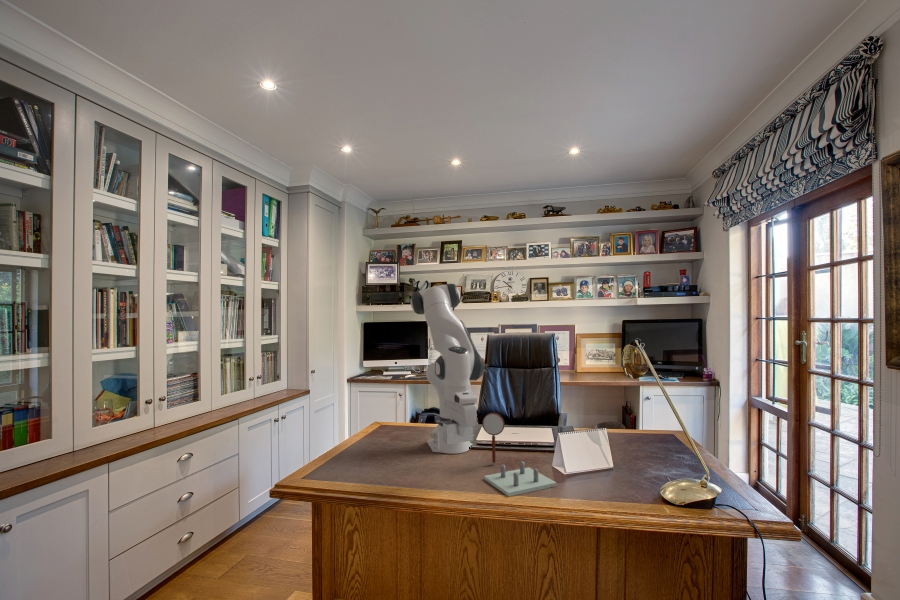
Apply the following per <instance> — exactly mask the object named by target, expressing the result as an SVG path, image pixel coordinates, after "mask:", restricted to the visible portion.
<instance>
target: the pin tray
mask: <svg viewBox="0 0 900 600" xmlns="http://www.w3.org/2000/svg"><path fill="white" fill-rule="evenodd" d="M483 480H484V481H486V482H487V483H489V484H490V485H491V486H493V487H494V488H496V490H498V491H500V492H501V493H503V494H504V495H505V496H507V497H508V496H509V497H513V496H518V495H523V494H528V493H531V492H535V491H540V490H544V489H550V488H553V487H557V481H555V480H553V479H552V478H549V477H547V476H546V475H543V474H542V473H540V472H539V469H538V468H537V467H536V468H535V467H534V468H531V467H525V461H522V460H521V461H519V469H513V470H507V471H506V464H501V465H500V472H497V473H491V474H486V475H483Z"/></svg>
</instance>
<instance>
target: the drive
mask: <svg viewBox="0 0 900 600" xmlns="http://www.w3.org/2000/svg"><path fill="white" fill-rule="evenodd" d="M459 428H460V426H459V423H457V422H455V421H454V420H448V421H443V442H444V443H446V444H453V443H460V442H466V441H470V442H473V441H474V427H466V428H465V431H464V436H459V435H458V430H459Z"/></svg>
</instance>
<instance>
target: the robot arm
mask: <svg viewBox="0 0 900 600" xmlns="http://www.w3.org/2000/svg"><path fill="white" fill-rule="evenodd" d="M460 300H461V292H460V289H459V287H457V284H455V283H446V284H440V285H433V286H432V287H427V288H424V289H421V290H417V291H415V292H413V293H412V294H411V295H410V307H411V309H412V311H414V313H415V314H417V315H424V317H425V318H424V319H425V322H426V324H427V325H428V327H429V332H430V336H431V340H432V346H433V348H434V349H435V351H436V352H438V353H440V354H441V355H439V356H438V357H437V358H436V360H435V361H434V362H431V363H430V364H428V366H427V368H426V370H425V371H426V373H425V374H426V379H427V381H428V382H429V384H430V385H432V386H433V387H434V388H435V391H436V393H437V395H438V399H439V415H438V421H437V423H438V424H437V425H436V427H434V428H433V430H432V432H431V433H430V438H431V439H428V440H427V441H426V444H427V445H428V446H429V448H430V450H431V451H432V452H433V453H443V454H449V455H450V454H462V453H466V452H467V451H469V450H470V449H469V447H470V446H471V445H473V443H472V442H471V441H466V442H460V443H453V444H446V443H444V442H443V421H448V420H454V421H455V422H457V423H459V426H460V428H459V430H458V435H459V436H464V431H465V428H466V427H473V428H474V427H475V426H476V424H477V405H476V404H477V403H478V397H477V395H476V394H475V393H474V392H473V390H472V389H471V386H472V385H471V381H478V380H479V379H480V378H481V377H482V376H483V374H484V373H485V369H486V368H485V362H484V359H483V357H482V356H481V355H480V353H479V352H478V350H477V348H476V346H475V344H474V342H473V339H472V337H471V335H470V333H469V331H468V329H467V327H466V325H465V323H464V322H463V321H462V320H461V319H459V318H458V317H457V315H455V313H454V311H455V308H457V306H459V304H460V302H461V301H460ZM470 448H471V447H470Z"/></svg>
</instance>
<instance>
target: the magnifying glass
mask: <svg viewBox="0 0 900 600" xmlns="http://www.w3.org/2000/svg"><path fill="white" fill-rule="evenodd" d="M481 425H482V428H483V431H485V432H486V433H487V434H488V435H489V436H491V448H492V449H491V452H492V453H491V454H492V455H491V456H492V457H491V460H492V465H493V466H495V465H496V462H497V461H496V436H498V435H500V434H501V433H502V432H503V431H504V429H505V420H504V418H503V417H502V415H500V414H499V413H497V412H489V413H487V414H486V415H484V416H483V419H482V424H481Z"/></svg>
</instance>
